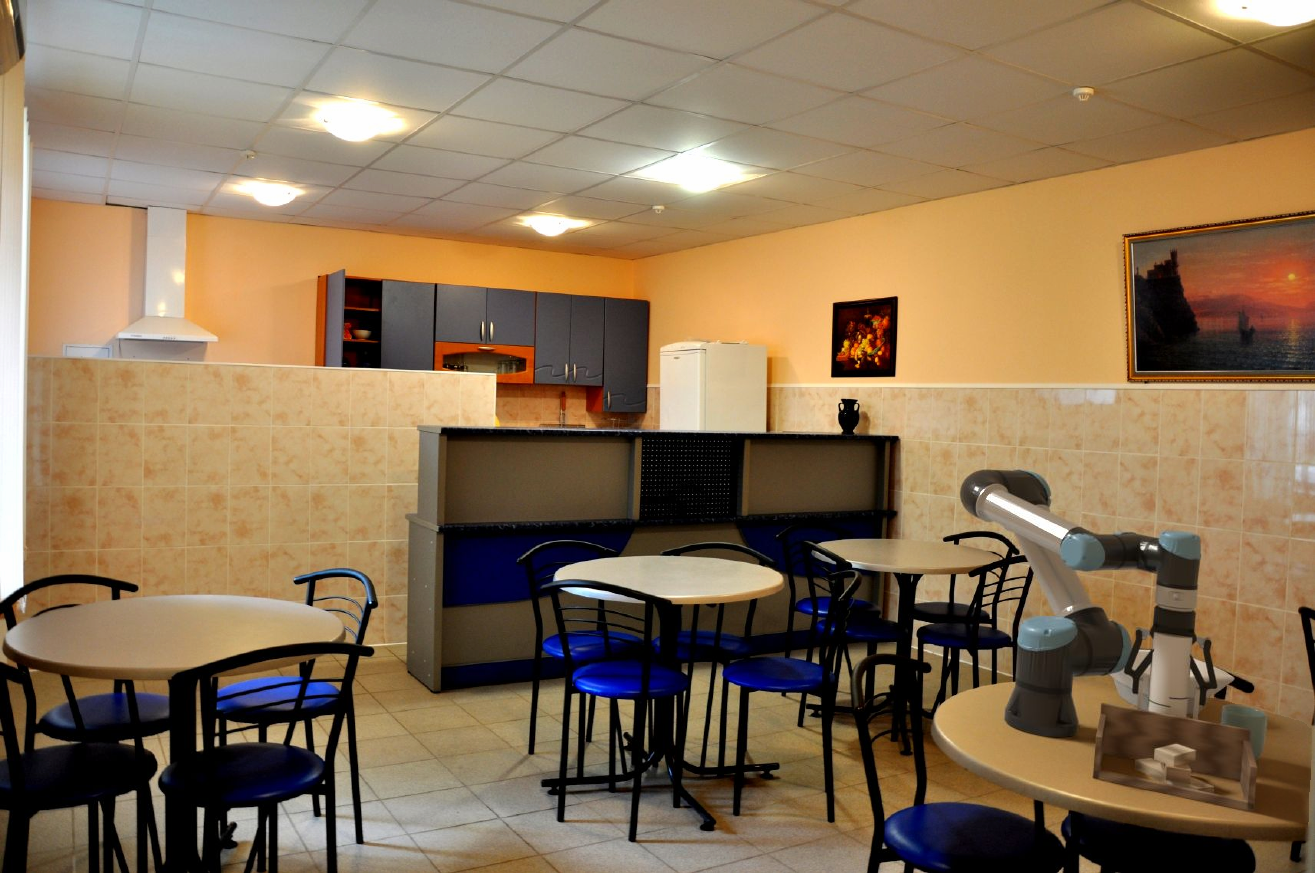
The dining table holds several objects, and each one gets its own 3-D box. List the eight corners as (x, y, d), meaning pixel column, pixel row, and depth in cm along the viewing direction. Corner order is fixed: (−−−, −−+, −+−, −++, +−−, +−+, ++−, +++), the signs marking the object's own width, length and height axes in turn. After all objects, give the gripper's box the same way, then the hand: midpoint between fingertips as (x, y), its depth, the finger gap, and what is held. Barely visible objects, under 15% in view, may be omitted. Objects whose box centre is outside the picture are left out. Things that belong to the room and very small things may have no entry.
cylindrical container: (1188, 762, 192) (1198, 639, 190) (1150, 757, 193) (1159, 636, 192) (1176, 749, 199) (1186, 631, 197) (1139, 745, 200) (1148, 627, 199)
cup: (1209, 753, 198) (1213, 705, 197) (1235, 749, 201) (1239, 702, 200) (1246, 767, 190) (1250, 718, 190) (1271, 763, 193) (1275, 715, 193)
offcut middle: (1159, 760, 187) (1160, 747, 187) (1182, 764, 185) (1183, 751, 185) (1165, 779, 177) (1166, 766, 177) (1190, 784, 175) (1191, 770, 175)
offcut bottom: (1134, 772, 187) (1135, 759, 186) (1149, 770, 188) (1150, 757, 188) (1196, 801, 173) (1197, 788, 173) (1212, 799, 175) (1214, 786, 175)
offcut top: (1175, 753, 184) (1176, 743, 184) (1195, 760, 181) (1195, 750, 180) (1154, 759, 180) (1154, 748, 180) (1173, 766, 177) (1174, 755, 177)
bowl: (1081, 687, 241) (1084, 647, 240) (1174, 689, 243) (1177, 650, 243) (1140, 721, 216) (1143, 676, 216) (1242, 722, 219) (1245, 678, 219)
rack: (1092, 777, 181) (1096, 725, 180) (1097, 750, 196) (1101, 702, 195) (1253, 812, 169) (1258, 756, 168) (1245, 780, 184) (1250, 729, 183)
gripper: (1114, 602, 196) (1106, 708, 197) (1239, 619, 186) (1230, 731, 187) (1115, 596, 203) (1108, 699, 204) (1237, 612, 193) (1228, 720, 194)
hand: (1166, 714), depth 195 cm, fingers open, 9 cm apart
